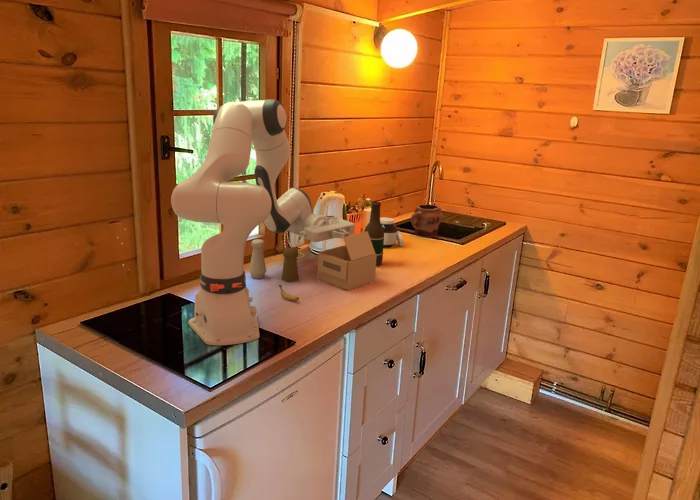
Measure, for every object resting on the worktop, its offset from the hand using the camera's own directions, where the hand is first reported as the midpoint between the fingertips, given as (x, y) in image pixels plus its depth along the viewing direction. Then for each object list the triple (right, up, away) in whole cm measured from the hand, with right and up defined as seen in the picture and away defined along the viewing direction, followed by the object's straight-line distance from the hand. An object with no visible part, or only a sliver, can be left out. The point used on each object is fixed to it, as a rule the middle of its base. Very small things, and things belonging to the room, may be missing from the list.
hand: (346, 235), depth 185 cm
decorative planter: (+35, +2, +68) cm, 77 cm away
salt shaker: (-31, -14, +4) cm, 34 cm away
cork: (-19, -15, +3) cm, 25 cm away
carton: (0, -15, +4) cm, 16 cm away
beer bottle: (+10, -10, +24) cm, 28 cm away
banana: (-18, -20, -15) cm, 31 cm away
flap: (+4, -3, -3) cm, 6 cm away
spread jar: (+18, -3, +49) cm, 53 cm away
